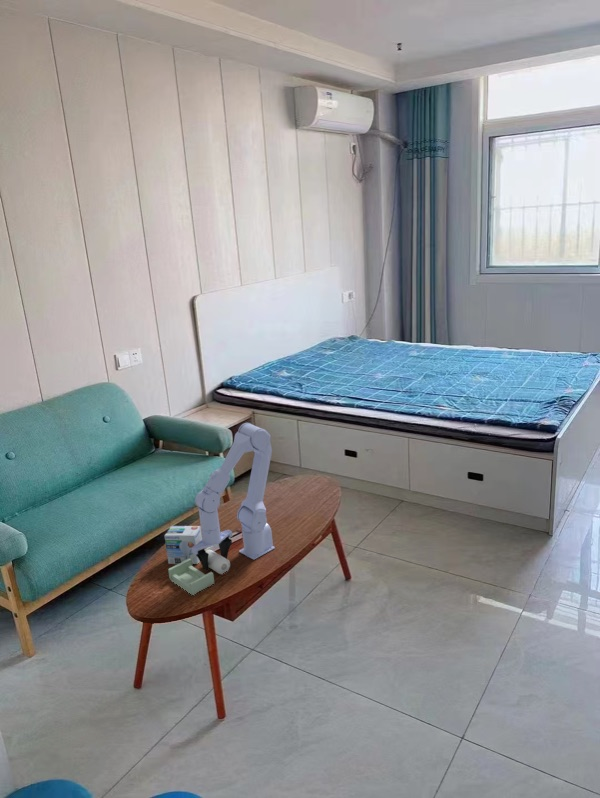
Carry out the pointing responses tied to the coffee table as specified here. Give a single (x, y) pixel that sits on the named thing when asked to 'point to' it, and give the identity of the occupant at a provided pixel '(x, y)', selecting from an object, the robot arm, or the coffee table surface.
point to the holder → (190, 577)
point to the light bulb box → (182, 543)
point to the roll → (217, 562)
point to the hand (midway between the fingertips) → (215, 564)
